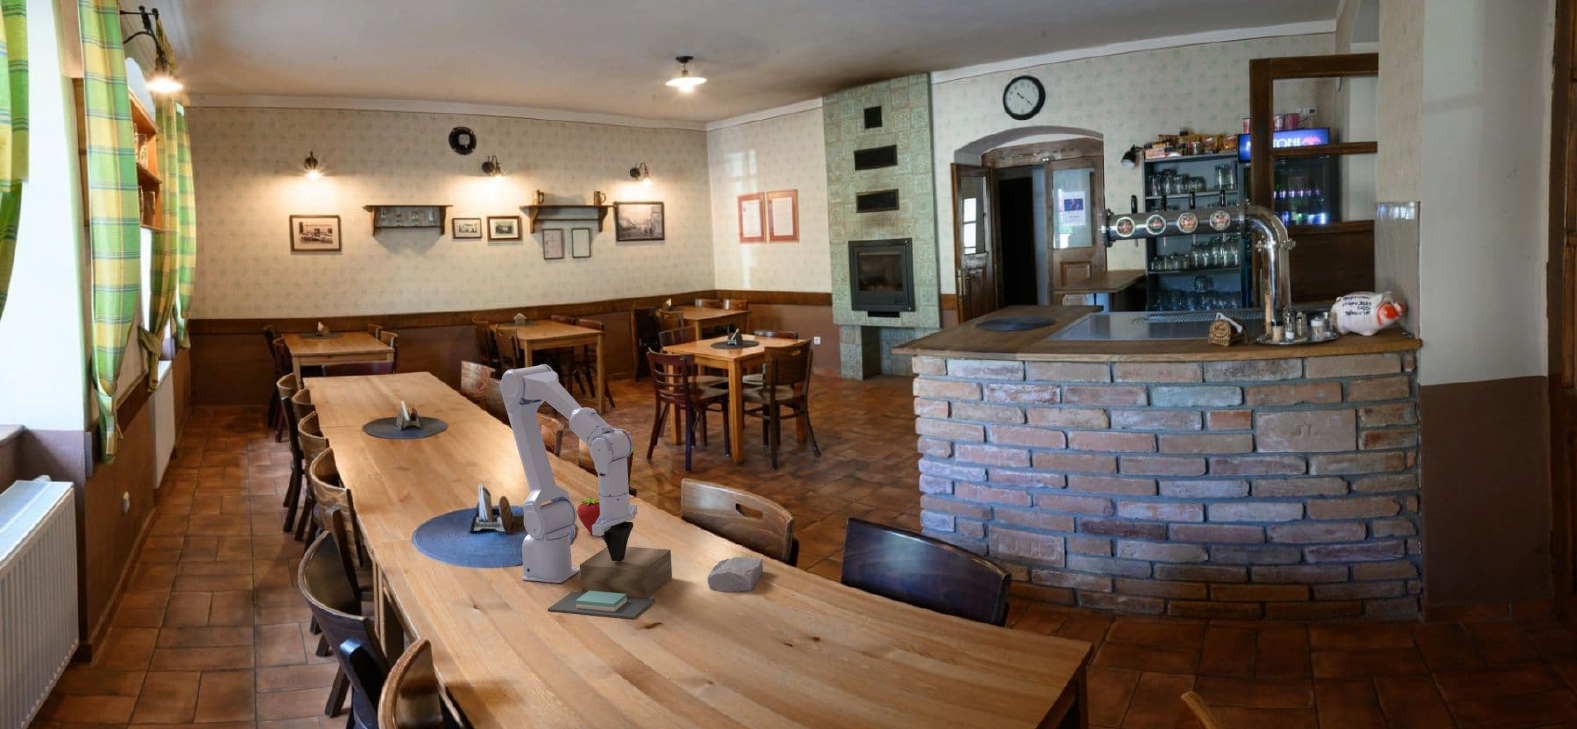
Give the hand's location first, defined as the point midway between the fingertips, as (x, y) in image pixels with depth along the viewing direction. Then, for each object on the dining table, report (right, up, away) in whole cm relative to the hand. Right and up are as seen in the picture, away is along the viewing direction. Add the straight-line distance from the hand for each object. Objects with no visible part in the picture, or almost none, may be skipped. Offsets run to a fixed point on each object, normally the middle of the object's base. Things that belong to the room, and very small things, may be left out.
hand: (617, 560), depth 180 cm
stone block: (+23, -6, +5) cm, 24 cm away
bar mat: (-2, -7, -6) cm, 10 cm away
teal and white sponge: (-2, -6, -7) cm, 9 cm away
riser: (+1, -6, +4) cm, 7 cm away
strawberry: (-14, -2, +40) cm, 42 cm away
